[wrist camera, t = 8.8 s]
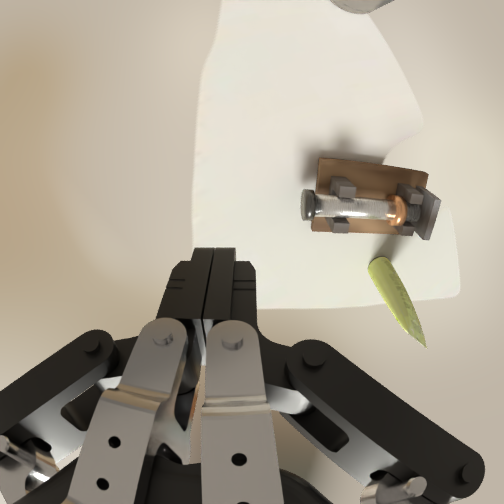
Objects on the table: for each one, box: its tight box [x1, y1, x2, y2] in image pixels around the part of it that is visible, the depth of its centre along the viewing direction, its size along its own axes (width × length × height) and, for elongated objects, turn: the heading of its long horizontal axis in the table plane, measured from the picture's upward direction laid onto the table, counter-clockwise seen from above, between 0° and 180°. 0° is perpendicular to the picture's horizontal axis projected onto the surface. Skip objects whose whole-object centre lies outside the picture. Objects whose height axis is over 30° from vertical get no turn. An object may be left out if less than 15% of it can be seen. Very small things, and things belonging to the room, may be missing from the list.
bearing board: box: [311, 158, 441, 240], centre depth 39 cm, size 12×20×7 cm, turn 89°
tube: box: [368, 257, 427, 349], centre depth 41 cm, size 6×5×20 cm
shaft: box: [301, 189, 421, 226], centre depth 38 cm, size 5×19×5 cm, turn 89°
